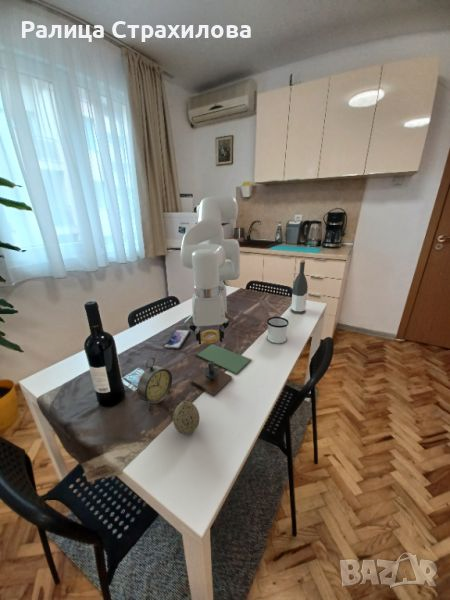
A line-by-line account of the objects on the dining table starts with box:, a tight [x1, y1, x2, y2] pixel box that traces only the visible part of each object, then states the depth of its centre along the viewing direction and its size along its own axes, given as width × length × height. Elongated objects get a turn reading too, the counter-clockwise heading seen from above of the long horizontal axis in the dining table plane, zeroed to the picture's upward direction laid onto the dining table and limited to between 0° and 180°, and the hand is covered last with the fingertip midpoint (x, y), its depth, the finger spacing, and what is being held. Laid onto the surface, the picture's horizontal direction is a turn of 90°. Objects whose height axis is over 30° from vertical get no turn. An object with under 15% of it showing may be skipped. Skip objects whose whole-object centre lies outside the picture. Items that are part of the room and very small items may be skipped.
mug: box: [266, 316, 290, 344], centre depth 109 cm, size 12×9×9 cm
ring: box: [200, 329, 220, 344], centre depth 79 cm, size 6×6×1 cm
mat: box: [196, 343, 251, 375], centre depth 97 cm, size 20×10×1 cm, turn 53°
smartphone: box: [164, 329, 190, 349], centre depth 111 cm, size 7×1×15 cm
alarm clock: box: [136, 357, 173, 411], centre depth 74 cm, size 11×5×16 cm, turn 148°
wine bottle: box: [290, 258, 309, 315], centre depth 131 cm, size 8×8×30 cm
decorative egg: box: [172, 400, 200, 435], centre depth 65 cm, size 7×7×10 cm
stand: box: [191, 361, 233, 396], centre depth 83 cm, size 10×10×8 cm
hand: (210, 340), depth 79 cm, fingers closed on ring, 6 cm apart
